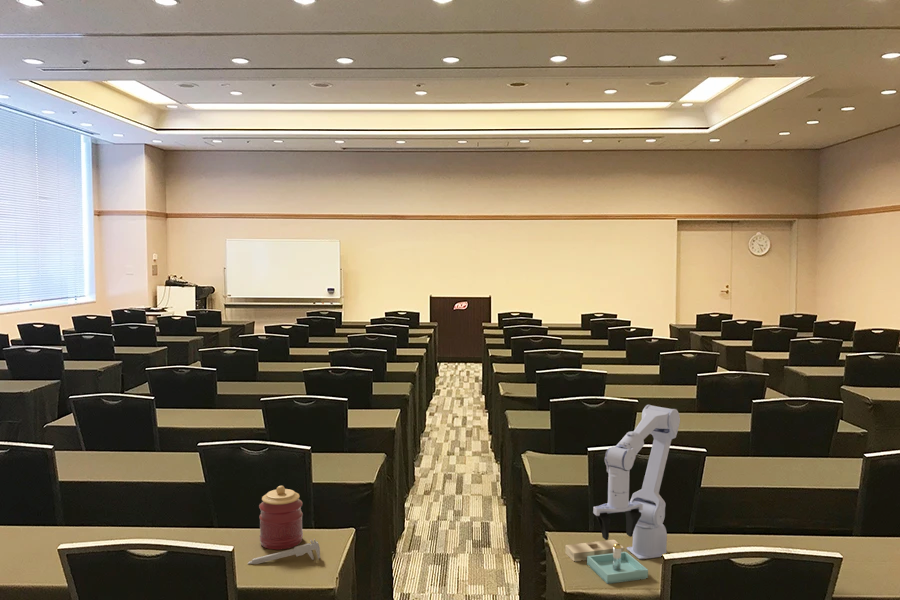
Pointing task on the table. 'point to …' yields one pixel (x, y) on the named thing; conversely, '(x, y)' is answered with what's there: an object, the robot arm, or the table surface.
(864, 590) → the table surface
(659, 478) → the robot arm
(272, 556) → the caliper
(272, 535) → the canister
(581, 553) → the beige slotted block
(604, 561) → the tray
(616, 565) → the pin
